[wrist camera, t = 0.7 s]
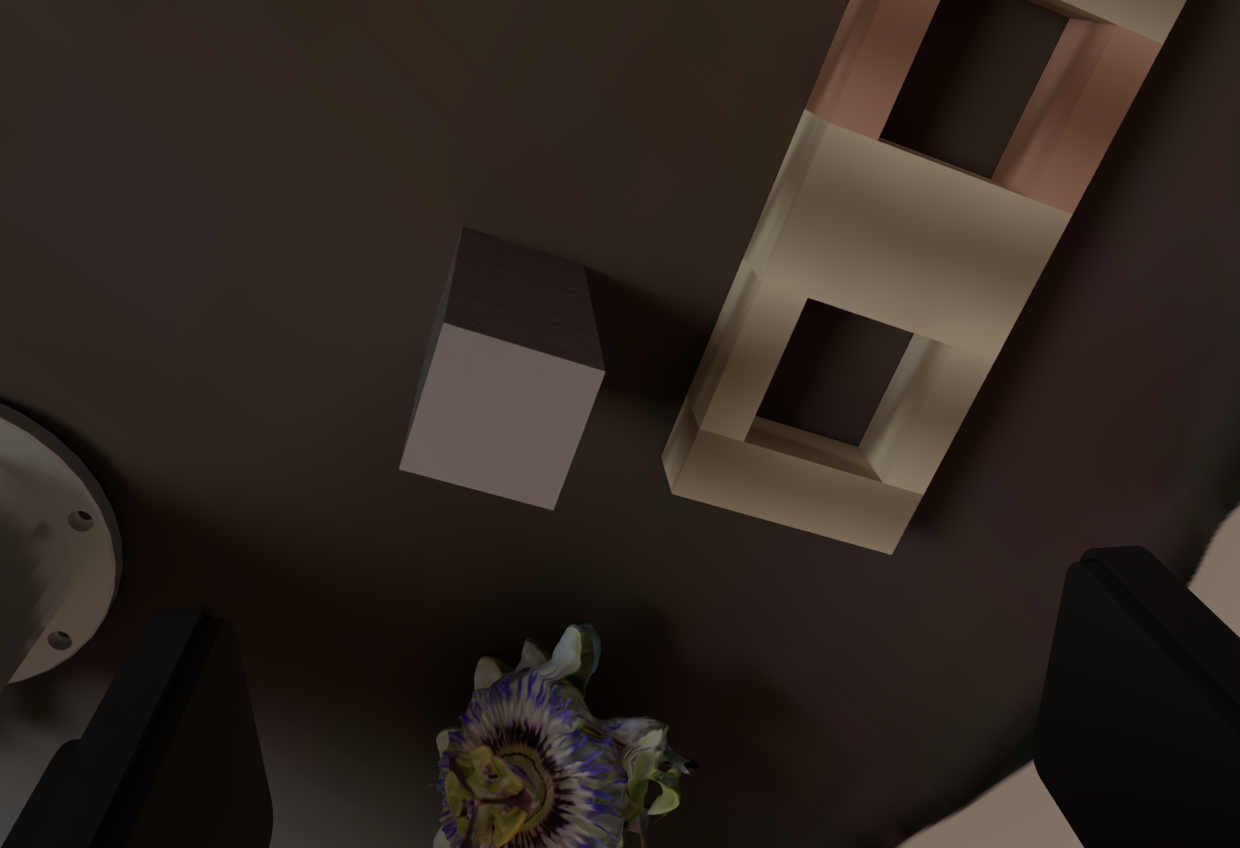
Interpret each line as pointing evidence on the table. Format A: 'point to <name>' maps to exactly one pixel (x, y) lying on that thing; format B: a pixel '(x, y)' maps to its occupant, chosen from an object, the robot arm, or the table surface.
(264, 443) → the table surface
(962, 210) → the block with square holes
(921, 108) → the table surface
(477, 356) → the peg
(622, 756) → the passion flower
